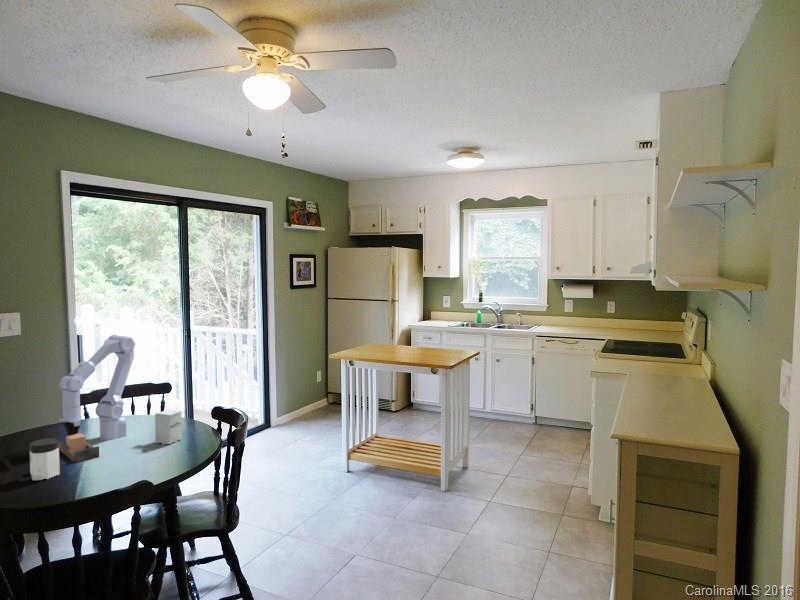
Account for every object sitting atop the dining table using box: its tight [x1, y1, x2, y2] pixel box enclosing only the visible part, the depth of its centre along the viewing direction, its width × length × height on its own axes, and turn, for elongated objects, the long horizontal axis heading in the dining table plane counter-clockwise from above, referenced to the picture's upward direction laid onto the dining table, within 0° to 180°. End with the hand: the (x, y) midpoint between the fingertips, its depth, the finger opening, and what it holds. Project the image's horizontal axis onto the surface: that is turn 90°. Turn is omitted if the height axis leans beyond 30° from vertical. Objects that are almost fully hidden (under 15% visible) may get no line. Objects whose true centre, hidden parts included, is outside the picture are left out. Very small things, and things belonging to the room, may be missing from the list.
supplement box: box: [154, 409, 183, 445], centre depth 215 cm, size 7×7×13 cm
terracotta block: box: [65, 432, 87, 451], centre depth 200 cm, size 5×6×6 cm
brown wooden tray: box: [58, 441, 102, 466], centre depth 199 cm, size 12×22×5 cm, turn 48°
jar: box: [29, 437, 61, 481], centre depth 179 cm, size 9×8×12 cm
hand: (72, 440), depth 203 cm, fingers closed
